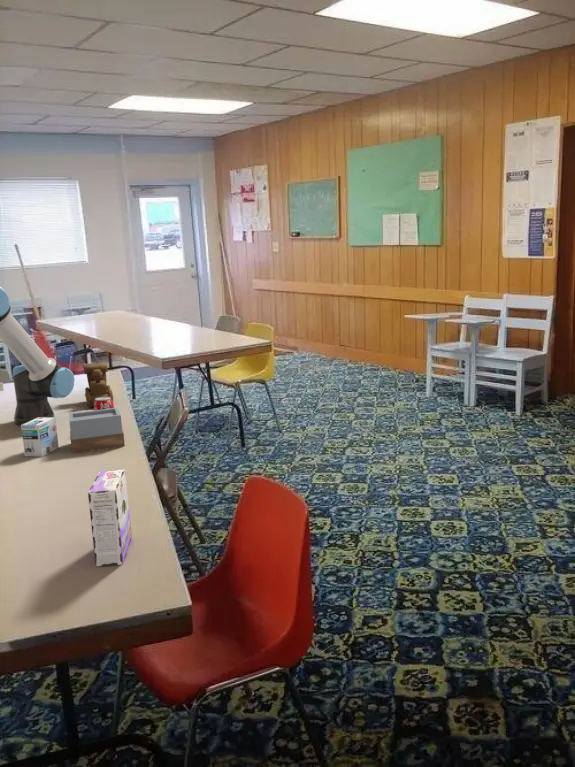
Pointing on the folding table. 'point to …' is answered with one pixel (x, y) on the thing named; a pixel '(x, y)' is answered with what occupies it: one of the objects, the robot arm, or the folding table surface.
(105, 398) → the soda can
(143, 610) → the folding table surface
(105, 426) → the tower top block
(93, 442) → the tower base block
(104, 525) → the candy box
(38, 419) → the light bulb box
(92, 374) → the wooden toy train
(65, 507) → the folding table surface
